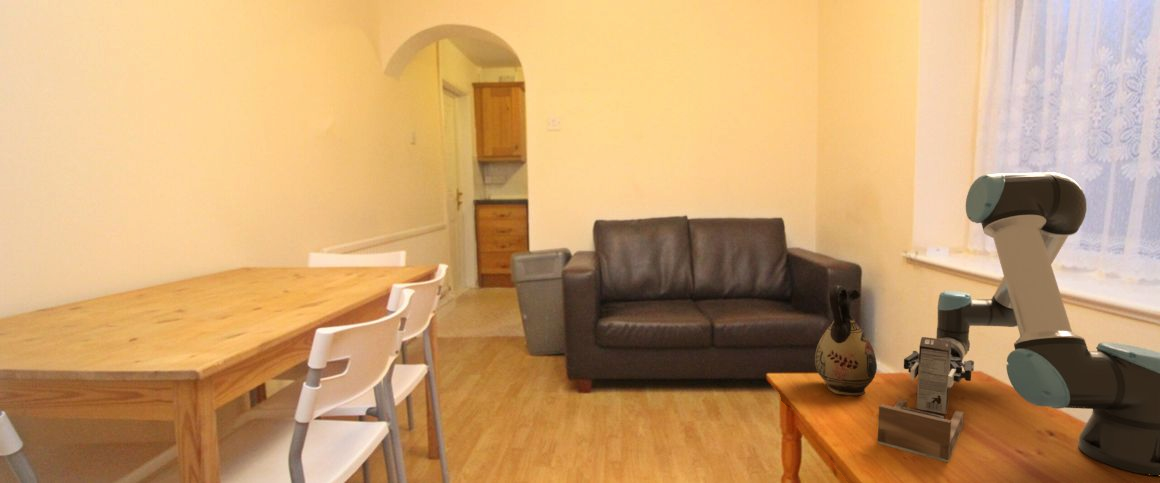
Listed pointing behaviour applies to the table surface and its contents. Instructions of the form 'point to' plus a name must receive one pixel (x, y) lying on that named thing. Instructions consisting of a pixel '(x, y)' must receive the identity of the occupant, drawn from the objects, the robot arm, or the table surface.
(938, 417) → the pusher
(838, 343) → the ceramic jug
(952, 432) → the wooden tray
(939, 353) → the coffee box
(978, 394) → the table surface
